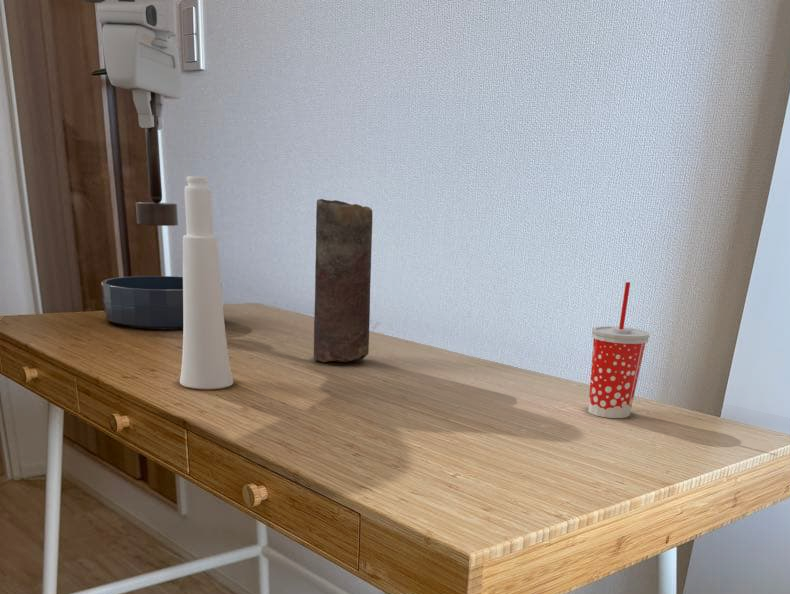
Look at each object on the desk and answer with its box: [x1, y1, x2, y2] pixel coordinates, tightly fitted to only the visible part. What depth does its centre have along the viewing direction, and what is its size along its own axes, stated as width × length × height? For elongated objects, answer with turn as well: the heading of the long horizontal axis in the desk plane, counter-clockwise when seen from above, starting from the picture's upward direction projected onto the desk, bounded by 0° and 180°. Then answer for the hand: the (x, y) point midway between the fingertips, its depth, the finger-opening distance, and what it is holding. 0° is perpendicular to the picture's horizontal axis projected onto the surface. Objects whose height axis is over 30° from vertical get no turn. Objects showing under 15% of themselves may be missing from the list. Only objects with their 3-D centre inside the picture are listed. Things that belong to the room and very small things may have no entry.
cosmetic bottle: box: [179, 175, 234, 391], centre depth 92 cm, size 6×6×22 cm
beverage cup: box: [587, 281, 651, 419], centre depth 90 cm, size 6×6×14 cm
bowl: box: [100, 275, 223, 330], centre depth 133 cm, size 18×18×6 cm
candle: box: [313, 198, 374, 363], centre depth 108 cm, size 8×7×20 cm
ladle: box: [135, 92, 179, 227], centre depth 123 cm, size 6×6×19 cm
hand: (150, 128), depth 122 cm, fingers closed on ladle
